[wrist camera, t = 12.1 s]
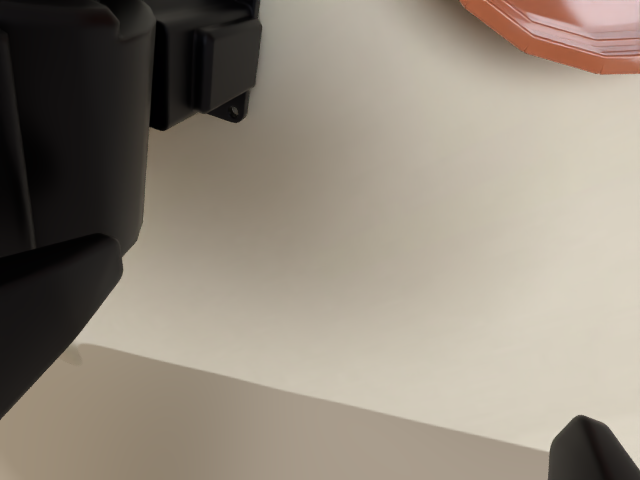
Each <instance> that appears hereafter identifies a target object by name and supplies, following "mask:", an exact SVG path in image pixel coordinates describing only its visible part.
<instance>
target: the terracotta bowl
mask: <svg viewBox="0 0 640 480" xmlns="http://www.w3.org/2000/svg"><path fill="white" fill-rule="evenodd" d="M459 1H460V3H461V5H462V6H465V7H464V8H465V9H466V10H467V11H469V12H470V13H471V14H473V15H474V16H475V17H477V18H478V19H479V20H481V21H482V22H483V23H485V24H486V25H487V26H488V27H490V28H491V29H492V30H494V31H495V32H496V33H498V34H499V35H500V36H502V37H503V38H504V39H506V40H507V41H508V42H510V43H511V44H512V45H514V46H515V47H516V48H518V49H519V50H520V51H524V53H526V54H530V55H533V56H536V57H540V58H543V59H547V60H550V61H554V62H557V63H560V64H564V65H567V66H571V67H574V68H577V69H581V70H584V71H588V72H591V73H595V74H601V75H605V74H640V0H459Z"/></svg>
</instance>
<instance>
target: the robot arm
mask: <svg viewBox="0 0 640 480" xmlns="http://www.w3.org/2000/svg"><path fill="white" fill-rule="evenodd" d="M259 4H260V0H0V420H1V418H2V417H3V416H4V415H5V414H6V413H7V412H8V411H9V410H10V409H11V408H12V407H13V405H14V404H15V403H16V402H17V401H18V400H19V399H20V398H21V397H22V396H23V395H24V394H25V393H26V391H27V390H28V389H29V388H30V387H31V386H32V385H33V384H34V383H35V382H36V381H37V380H38V379H39V377H40V376H41V375H42V374H43V373H44V372H45V371H46V370H47V369H48V368H49V367H50V366H51V365H52V364H53V362H54V361H55V360H56V359H57V358H58V357H59V356H60V355H61V354H62V353H63V352H64V351H65V350H66V348H67V347H68V346H69V345H70V344H71V343H72V342H73V341H74V339H75V338H76V337H77V336H78V334H79V333H80V332H81V331H82V330H83V328H84V327H85V326H86V324H87V323H88V322H89V320H90V319H91V318H92V316H93V315H94V314H95V312H96V311H97V310H98V308H99V307H100V306H101V304H102V303H103V302H104V300H105V299H106V298H107V297H108V295H109V294H110V293H111V291H112V290H113V289H114V287H115V286H116V285H117V283H118V282H119V280H120V279H121V277H122V274H123V264H122V257H123V256H124V254H125V253H126V252H127V251H128V250H129V249H130V248H131V247H132V246H133V245H134V244H135V242H136V241H137V239H138V236H139V232H140V229H141V226H142V223H143V212H144V197H145V182H146V167H147V152H148V137H149V127H152V128H154V129H157V130H160V131H165V130H167V129H169V128H171V127H172V126H174V125H176V124H178V123H180V122H182V121H184V120H185V119H187V118H189V117H191V116H193V115H195V114H197V113H198V112H199V113H202V114H209V115H212V116H215V117H218V118H221V119H224V120H227V121H230V122H233V123H237V122H240V121H242V120H243V119H244V118H245V117H246V115H247V110H248V101H249V92H250V89H251V88H252V87H254V86H255V81H256V73H257V64H258V56H259V48H260V39H261V31H262V26H261V24H260V22H259V19H258V13H259ZM232 107H235V108H237V110H238V115H236V114H235V113H234V112H233V109H232ZM548 480H640V470H639V469H638V467H637V466H636V465H635V463H634V462H633V460H632V459H631V458H630V456H629V455H628V453H627V452H626V451H625V449H624V448H623V446H622V445H621V444H620V442H619V441H618V439H617V438H616V437H615V435H614V434H613V433H612V431H611V430H610V429H609V427H608V426H607V425H605V424H604V423H602V422H600V421H597V420H594V419H592V418H589V417H586V416H584V415H578V416H576V417H574V418H573V419H572V420H571V421H570V422H569V423H568V424H567V425H566V427H565V428H564V429H563V430H562V431H561V432H560V433H559V434H558V435H557V436H556V437H555V438H554V440H553V442H552V444H551V448H550V456H549V472H548Z"/></svg>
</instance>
